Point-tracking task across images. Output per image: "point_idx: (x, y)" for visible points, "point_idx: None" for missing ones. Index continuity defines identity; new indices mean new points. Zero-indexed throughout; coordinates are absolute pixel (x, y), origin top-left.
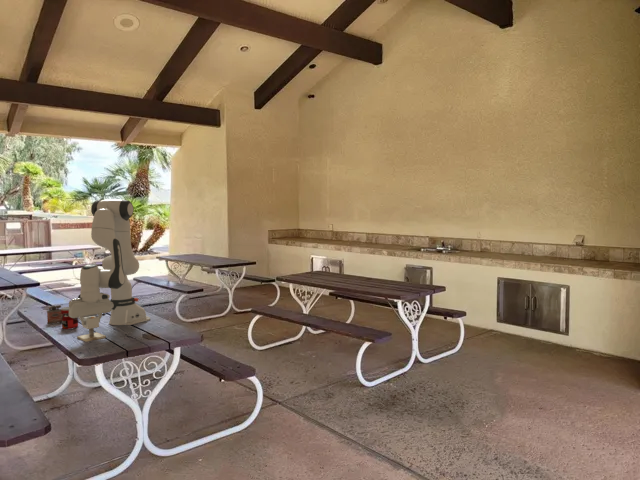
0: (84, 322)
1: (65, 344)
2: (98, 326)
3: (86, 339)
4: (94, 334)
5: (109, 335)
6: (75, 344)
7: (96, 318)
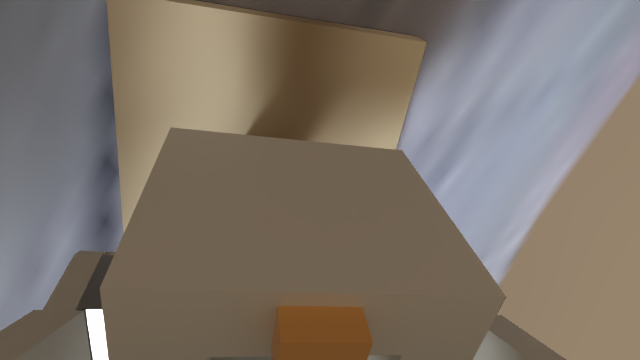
0: None
1: (568, 139)
2: (179, 136)
3: (410, 53)
4: None
5: (17, 60)
6: (546, 41)
7: (204, 270)
